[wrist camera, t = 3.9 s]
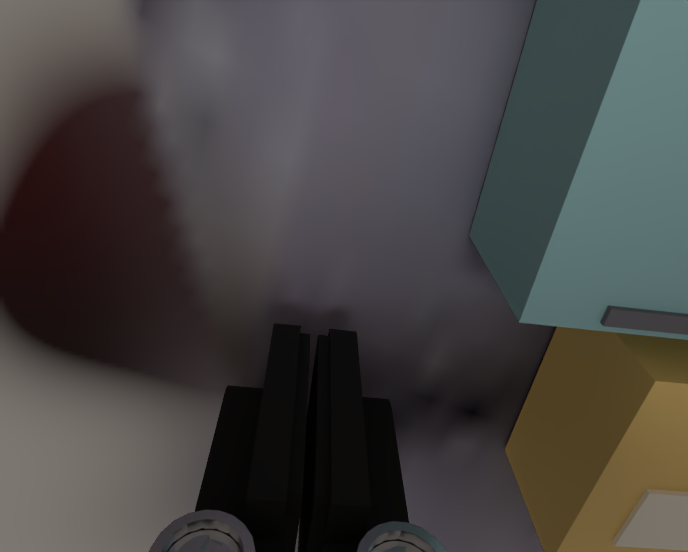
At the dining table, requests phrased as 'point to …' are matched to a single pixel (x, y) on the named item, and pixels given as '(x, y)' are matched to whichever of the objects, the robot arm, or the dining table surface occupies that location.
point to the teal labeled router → (594, 171)
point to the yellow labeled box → (606, 443)
